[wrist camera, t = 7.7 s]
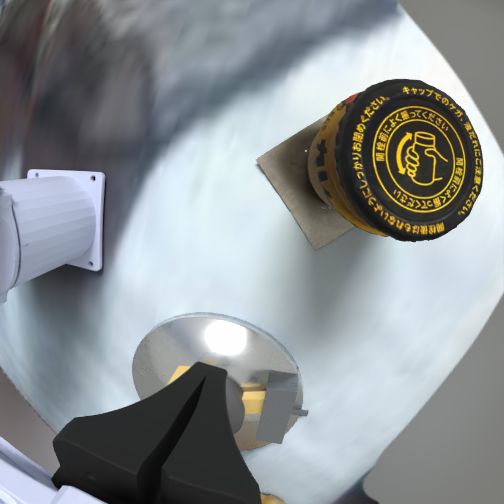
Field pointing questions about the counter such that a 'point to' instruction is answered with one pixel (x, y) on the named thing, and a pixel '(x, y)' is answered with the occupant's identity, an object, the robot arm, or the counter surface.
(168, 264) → the counter surface
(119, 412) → the robot arm
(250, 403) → the multicoloured piece
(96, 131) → the counter surface
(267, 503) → the pastry
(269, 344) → the post plate
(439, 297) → the counter surface
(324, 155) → the condiment
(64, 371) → the counter surface
